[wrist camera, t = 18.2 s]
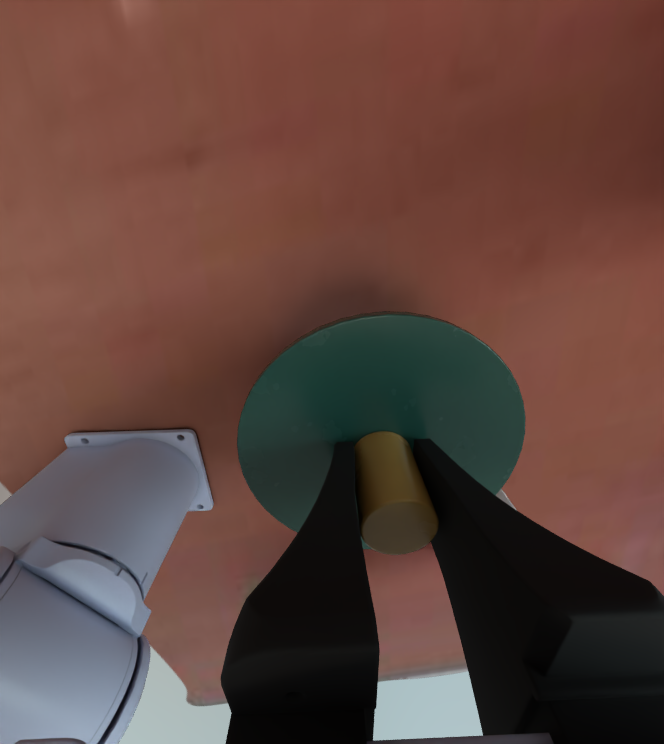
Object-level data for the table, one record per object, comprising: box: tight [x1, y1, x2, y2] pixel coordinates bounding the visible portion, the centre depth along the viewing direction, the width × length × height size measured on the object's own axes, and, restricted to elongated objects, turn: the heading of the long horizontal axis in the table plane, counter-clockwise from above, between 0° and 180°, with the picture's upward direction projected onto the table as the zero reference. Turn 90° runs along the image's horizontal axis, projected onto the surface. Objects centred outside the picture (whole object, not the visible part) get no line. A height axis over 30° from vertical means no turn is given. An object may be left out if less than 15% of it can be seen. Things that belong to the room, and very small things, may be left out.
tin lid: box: [237, 311, 525, 555], centre depth 11 cm, size 11×11×4 cm
